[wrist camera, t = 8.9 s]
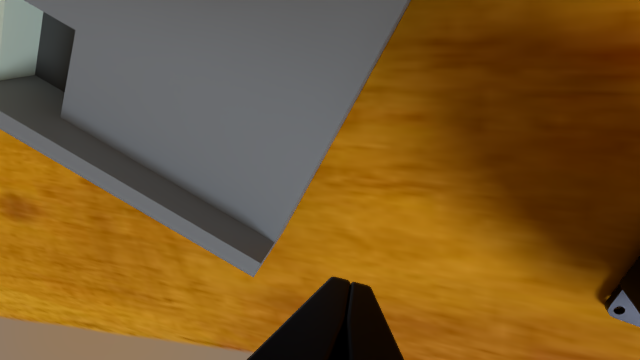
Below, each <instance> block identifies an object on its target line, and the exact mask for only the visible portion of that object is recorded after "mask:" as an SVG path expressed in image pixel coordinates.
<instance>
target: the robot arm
mask: <svg viewBox="0 0 640 360" xmlns="http://www.w3.org/2000/svg"><path fill="white" fill-rule="evenodd" d="M618 306H621V308H619V309H614V308H616V307H618ZM605 308H606V310H607V312H608V313H609V315H610V316H612V317H614V318H616V319H619V320H622V321H625V322H628V323H630V324H633V325H636V326H639V327H640V256H639V257H638V259H637V260H636V261H635V263H634V264H633V265H632V267H631V268H630V269H629V271H628V272H627V273H626V275H625V276H624V277H623V278H622V280H621V281H620V284H619V286H618V287H617V288H616V289H615V291H614V292H613V293H612V295H611V296H610V297H609V299H608V300H607V301H606V303H605ZM247 360H404V359H403V356H402V354H401V352H400V350H399V348H398V346H397V343H396V341H395V339H394V337H393V335H392V332H391V330H390V328H389V326H388V324H387V322H386V319H385V317H384V315H383V313H382V311H381V308H380V306H379V304H378V302H377V300H376V298H375V295H374V293H373V291H372V289H371V287H370V286H368V285H364V284H360V283H357V282H352V283H351V284H350V282H349V281H348V280H345V279H342V278H338V277H331V278H330V279H329V280H328V281H327V282H326V283H324V284H323V285H322V286H321V287H320V288H319V289H318V290H317V291H316V292H315V293H314V294H313V295H312V296H311V297H310V298H309V299H308V300H307V301H306V302H305V303H304V304H303V305H302V306H301V307H300V308H299V309H298V310H297V311H296V312H295V313H294V314H293V315H292V316H291V317H290V318H289V319H288V320H287V321H286V322H285V323H284V324H283V325H282V326H281V327H280V328H279V329H278V330H277V331H276V332H274V333H273V334H272V335H271V336H270V337H269V338H268V339H267V340H266V341H265V342H264V343H263V344H262V345H261V346H260V347H259V348H258V349H257V350H256V351H255V352H254V353H253V354H252V355H251V356H250V357H249V358H248V359H247Z"/></svg>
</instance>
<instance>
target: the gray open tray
mask: <svg viewBox="0 0 640 360" xmlns="http://www.w3.org/2000/svg"><path fill="white" fill-rule="evenodd" d="M410 1H411V0H0V129H1V130H3V131H5V132H6V133H8V134H10V135H12V136H13V137H15V138H17V139H18V140H20V141H22V142H24V143H25V144H27V145H29V146H30V147H32V148H34V149H35V150H37V151H39V152H41V153H42V154H44V155H46V156H47V157H49V158H51V159H53V160H54V161H56V162H58V163H59V164H61V165H63V166H64V167H66V168H68V169H70V170H71V171H73V172H75V173H76V174H78V175H80V176H82V177H83V178H85V179H87V180H88V181H90V182H92V183H93V184H95V185H97V186H99V187H100V188H102V189H104V190H105V191H107V192H109V193H111V194H112V195H114V196H116V197H117V198H119V199H121V200H123V201H124V202H126V203H128V204H129V205H131V206H133V207H134V208H136V209H138V210H140V211H141V212H143V213H145V214H146V215H148V216H150V217H152V218H153V219H155V220H157V221H158V222H160V223H162V224H163V225H165V226H167V227H169V228H170V229H172V230H174V231H175V232H177V233H179V234H181V235H182V236H184V237H186V238H187V239H189V240H191V241H193V242H194V243H196V244H198V245H199V246H201V247H203V248H204V249H206V250H208V251H210V252H211V253H213V254H215V255H216V256H218V257H220V258H222V259H223V260H225V261H227V262H228V263H230V264H232V265H233V266H235V267H237V268H239V269H240V270H242V271H244V272H245V273H247V274H249V275H251V276H252V277H254V276H255V274H256V273H257V271H258V270H259V268H260V267H261V265H262V263H263V262H264V260H265V259H266V257H267V256H268V254H269V253H270V251H271V250H272V248H273V247H274V245H275V244H276V242H277V240H278V239H279V237H280V236H281V234H282V233H283V231H284V229H285V227H286V226H287V224H288V222H289V220H290V218H291V216H292V215H293V213H294V211H295V209H296V207H297V206H298V204H299V202H300V200H301V198H302V197H303V195H304V193H305V191H306V189H307V188H308V186H309V184H310V182H311V180H312V179H313V177H314V175H315V173H316V171H317V169H318V168H319V166H320V164H321V162H322V160H323V159H324V157H325V155H326V153H327V151H328V150H329V148H330V146H331V144H332V142H333V141H334V139H335V137H336V135H337V133H338V131H339V130H340V128H341V126H342V124H343V122H344V121H345V119H346V117H347V115H348V113H349V112H350V110H351V108H352V106H353V104H354V103H355V101H356V99H357V97H358V95H359V94H360V92H361V90H362V88H363V86H364V84H365V83H366V81H367V79H368V77H369V75H370V74H371V72H372V70H373V68H374V66H375V65H376V63H377V61H378V59H379V57H380V56H381V54H382V52H383V50H384V48H385V46H386V45H387V43H388V41H389V39H390V37H391V36H392V34H393V32H394V30H395V28H396V27H397V25H398V23H399V21H400V19H401V18H402V16H403V14H404V12H405V10H406V8H407V7H408V5H409V3H410Z"/></svg>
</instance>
